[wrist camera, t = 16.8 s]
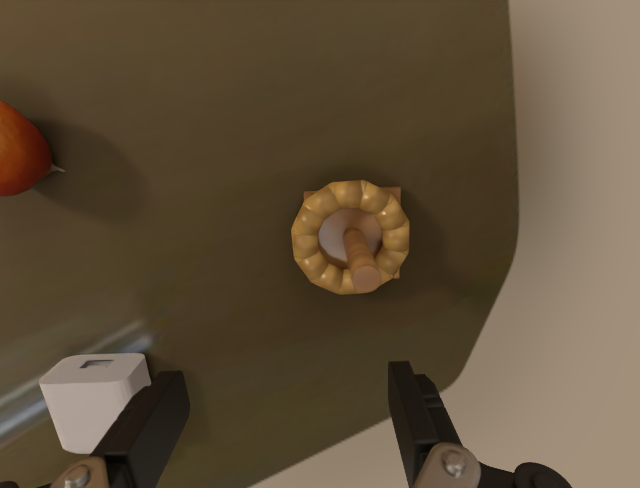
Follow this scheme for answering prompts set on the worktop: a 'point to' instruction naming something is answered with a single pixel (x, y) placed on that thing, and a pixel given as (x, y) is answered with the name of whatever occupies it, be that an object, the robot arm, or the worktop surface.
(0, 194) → the fruit
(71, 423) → the charger
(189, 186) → the worktop surface
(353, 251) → the wooden peg stand
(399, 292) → the worktop surface
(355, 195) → the ring
